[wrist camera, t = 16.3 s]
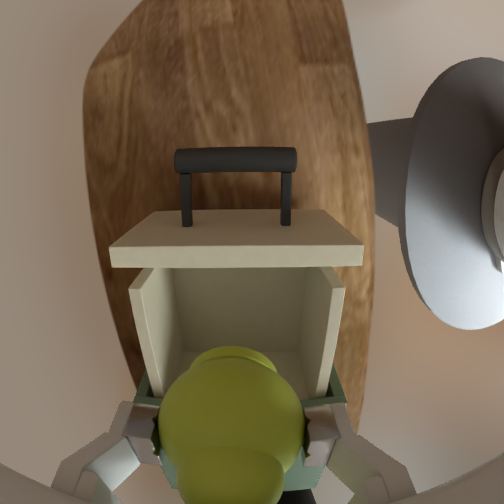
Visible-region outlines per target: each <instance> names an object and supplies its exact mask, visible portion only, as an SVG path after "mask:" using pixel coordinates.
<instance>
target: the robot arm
mask: <svg viewBox="0 0 504 504" xmlns="http://www.w3.org/2000/svg"><path fill="white" fill-rule="evenodd" d="M481 219H482V227H483V232H484V236H485V239H486V242H487V244H488V246H489V247H490V249H491V250H492V251H493V253H494V255H495V260H496V266H497V270H498V271H499V272H500V273H503V274H504V148H503V149H502V150H501V151H500V152H499V153H498V154H497V155H496V157H495V158H494V160H493V161H492V163H491V165H490V167H489V170H488V173H487V176H486V179H485V183H484V187H483V193H482V203H481ZM302 409H303V413H304V419H305V436H304V441H303V445H302V450H301V458H302V463H303V467H313V466H323V465H326V466H327V467H328V468H329V469H330V470H331V471H332V472H333V473H334V474H335V475H336V476H337V477H338V478H339V479H340V480H341V481H342V482H343V483H344V484H345V485H346V486H347V487H348V488H349V489H350V490H351V491H353V492H354V493H355V495H354V496H353V497H352V499H351V500H350V502H349V503H348V504H504V452H503V453H501V454H500V455H498V456H496V457H495V458H493V459H491V460H490V461H488V462H486V463H484V464H483V465H481V466H479V467H477V468H475V469H473V470H471V471H469V472H467V473H465V474H463V475H461V476H459V477H457V478H455V479H453V480H450V481H448V482H446V483H444V484H441V485H439V486H437V487H434V488H432V489H429V490H427V491H424V492H421V493H419V494H417V493H416V491H415V488H414V486H413V483H412V481H411V479H410V476H409V474H408V471H407V469H406V467H405V466H404V465H402V464H401V463H399V462H398V461H396V460H394V459H393V458H391V457H390V456H389V455H387V454H386V453H384V452H383V451H381V450H380V449H379V448H377V447H375V446H374V445H373V444H371V443H370V442H368V441H367V440H366V439H364V438H363V437H362V436H360V435H358V436H356V435H355V432H354V429H353V426H352V423H351V420H350V417H349V415H348V412H347V409H346V406H345V404H344V403H343V402H342V403H334V404H324V405H315V406H305V407H302ZM159 411H160V406H155V405H148V404H141V403H134V402H127V401H122V402H121V403H120V405H119V407H118V410H117V412H116V415H115V417H114V420H113V422H112V425H111V428H110V430H109V433H106V432H105V433H103V434H102V435H100V436H99V437H97V438H96V439H95V440H93V441H92V442H90V443H89V444H87V445H86V446H84V447H83V448H81V449H80V450H78V451H77V452H75V453H74V454H72V455H70V456H69V457H67V458H66V459H64V460H63V461H61V464H60V466H59V468H58V470H57V473H56V475H55V478H54V480H53V482H52V485H51V487H48V486H46V485H44V484H41V483H39V482H37V481H35V480H33V479H30V478H28V477H26V476H24V475H22V474H20V473H18V472H16V471H14V470H12V469H10V468H9V467H7V466H5V465H3V464H1V463H0V504H122V503H121V501H120V500H119V499H118V498H117V497H116V496H115V495H114V493H113V492H112V491H113V490H114V489H115V488H116V487H118V486H119V485H120V484H121V483H122V482H123V481H124V480H125V479H126V478H127V477H128V476H129V475H130V474H131V473H132V472H133V471H134V470H135V469H136V468H137V467H138V466H139V465H140V463H145V464H153V465H161V466H163V461H164V456H165V452H164V450H163V447H162V445H161V442H160V438H159V432H158V416H159Z"/></svg>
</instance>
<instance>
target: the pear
mask: <svg viewBox="0 0 504 504" xmlns="http://www.w3.org/2000/svg"><path fill="white" fill-rule="evenodd" d="M158 432H159V438H160V442H161V445H162V447H163V450H164V452H165V454H166V456H167V457H168V459H169V461H170V462H171V463H172V464H173V466H174V467H175V468H176V484H177V488H178V491H179V494H180V496H181V498H182V499H183V501H184V502H185V504H277V502H278V501H279V499H280V497H281V495H282V492H283V489H284V482H285V478H284V473H285V472H286V471H287V470H288V469H289V468H290V467H291V466H292V464H293V463H294V461H295V460H296V458H297V457H298V455H299V453H300V450H301V448H302V445H303V441H304V436H305V419H304V413H303V409H302V405H301V403H300V400H299V398H298V396H297V395H296V393H295V391H294V390H293V388H292V387H291V386H290V385H289V384H288V382H287V381H286V380H285V379H284V378H282V377H281V376H280V375H279V374H278V373H277V371H276V368H275V366H274V365H273V363H272V362H271V361H270V360H269V359H268V358H267V357H266V356H264V355H263V354H261V353H259V352H257V351H255V350H252V349H250V348H246V347H240V346H222V347H217V348H213V349H210V350H208V351H206V352H204V353H202V354H201V355H200V356H198V357H197V358H196V359H195V360H194V361H193V363H192V364H191V366H190V369H189V370H187V371H186V372H185V373H183V374H182V375H181V376H180V377H179V378H177V379H176V381H175V382H174V383H173V384H172V385H171V386H170V388H169V389H168V391H167V392H166V394H165V396H164V398H163V401H162V403H161V406H160V411H159V416H158Z"/></svg>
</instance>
